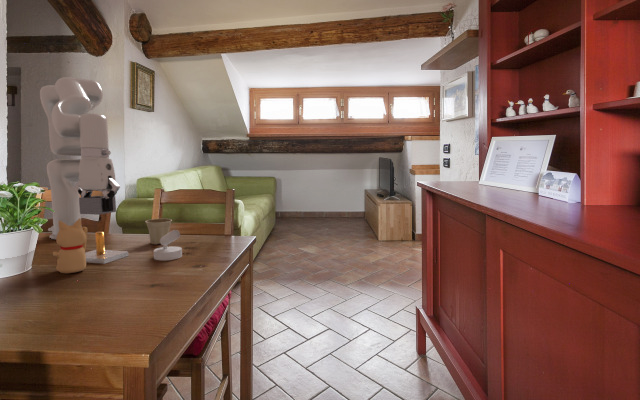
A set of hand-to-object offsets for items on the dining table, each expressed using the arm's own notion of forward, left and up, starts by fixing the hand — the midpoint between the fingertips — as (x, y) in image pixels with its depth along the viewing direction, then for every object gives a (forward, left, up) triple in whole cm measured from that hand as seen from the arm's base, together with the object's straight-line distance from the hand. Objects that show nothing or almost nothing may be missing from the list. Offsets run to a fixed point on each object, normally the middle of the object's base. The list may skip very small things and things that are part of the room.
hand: (98, 210), depth 120 cm
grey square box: (0, 0, -1) cm, 1 cm away
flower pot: (+3, +25, -16) cm, 30 cm away
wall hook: (+20, +7, -16) cm, 26 cm away
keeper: (0, 0, -16) cm, 16 cm away
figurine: (+3, -13, -16) cm, 21 cm away
